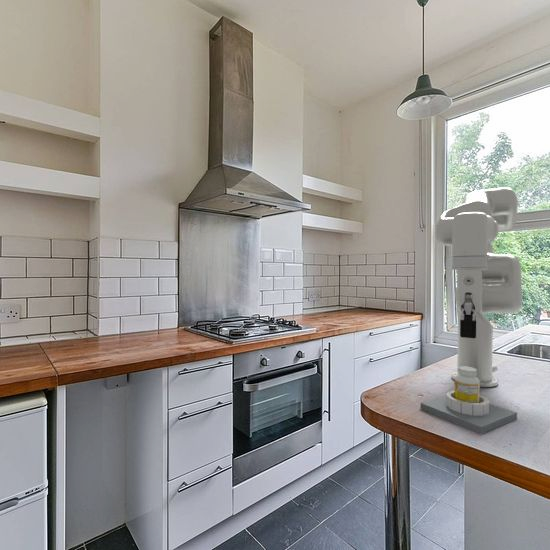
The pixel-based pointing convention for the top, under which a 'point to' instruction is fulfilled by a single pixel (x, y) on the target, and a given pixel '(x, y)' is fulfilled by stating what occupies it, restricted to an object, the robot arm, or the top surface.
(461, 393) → the supplement bottle
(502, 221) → the robot arm
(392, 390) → the top surface
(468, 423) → the socket board
